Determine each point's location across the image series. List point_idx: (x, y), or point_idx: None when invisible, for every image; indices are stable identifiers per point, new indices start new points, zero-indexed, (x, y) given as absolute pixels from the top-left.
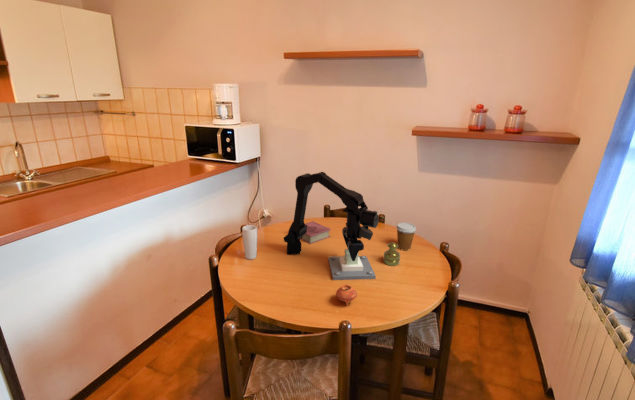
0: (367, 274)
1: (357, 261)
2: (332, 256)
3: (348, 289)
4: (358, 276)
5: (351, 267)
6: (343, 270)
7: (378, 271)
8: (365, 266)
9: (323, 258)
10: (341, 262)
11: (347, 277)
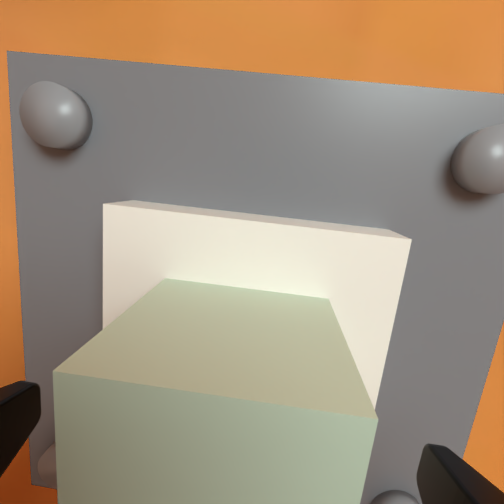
0: (498, 203)
1: (337, 324)
2: (45, 474)
3: None
4: (500, 322)
5: (375, 391)
6: None
7: (366, 3)
8: (289, 160)
9: (30, 485)
10: None
11: (462, 427)
